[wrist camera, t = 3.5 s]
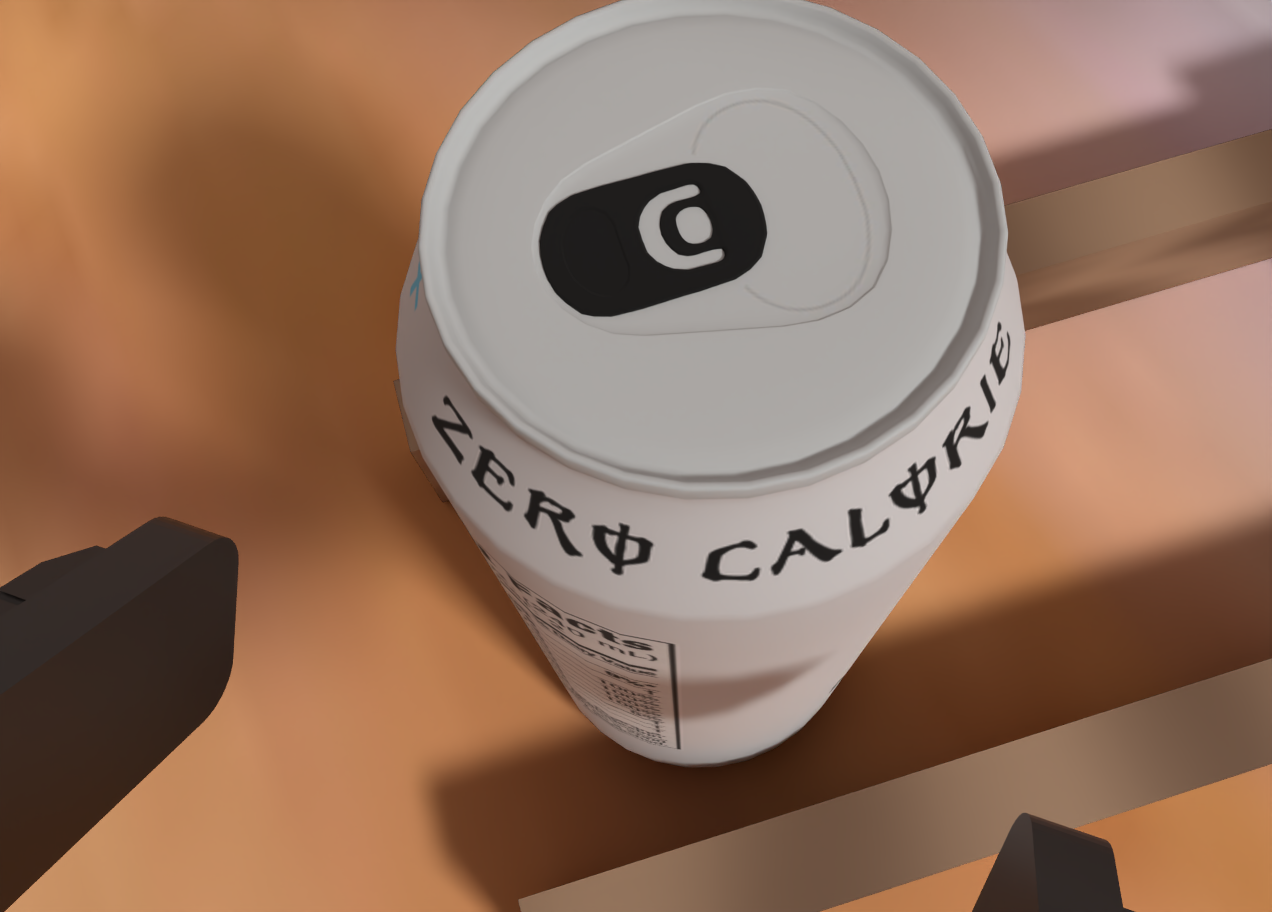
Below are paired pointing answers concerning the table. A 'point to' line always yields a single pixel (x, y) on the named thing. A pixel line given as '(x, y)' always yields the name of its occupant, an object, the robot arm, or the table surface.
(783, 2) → the energy drink can
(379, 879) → the table surface
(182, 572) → the robot arm
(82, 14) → the table surface
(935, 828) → the channel
